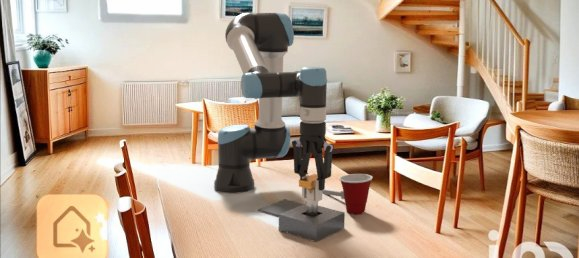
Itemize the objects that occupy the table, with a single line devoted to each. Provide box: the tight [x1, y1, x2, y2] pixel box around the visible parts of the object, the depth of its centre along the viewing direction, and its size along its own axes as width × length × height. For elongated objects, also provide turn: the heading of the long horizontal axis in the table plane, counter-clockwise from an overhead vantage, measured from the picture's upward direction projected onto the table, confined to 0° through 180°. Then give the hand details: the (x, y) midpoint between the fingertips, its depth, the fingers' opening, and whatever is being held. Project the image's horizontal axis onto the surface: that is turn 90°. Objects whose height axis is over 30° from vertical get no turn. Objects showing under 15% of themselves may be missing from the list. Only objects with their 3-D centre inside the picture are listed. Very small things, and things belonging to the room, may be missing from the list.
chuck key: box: [298, 173, 319, 217], centre depth 163 cm, size 8×4×14 cm, turn 144°
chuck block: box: [278, 203, 346, 243], centre depth 164 cm, size 14×14×5 cm
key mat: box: [257, 198, 305, 218], centre depth 182 cm, size 16×14×1 cm
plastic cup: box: [338, 173, 374, 216], centre depth 180 cm, size 11×11×12 cm
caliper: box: [322, 189, 345, 200], centre depth 193 cm, size 20×1×6 cm, turn 28°
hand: (312, 198), depth 163 cm, fingers closed on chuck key, 4 cm apart
